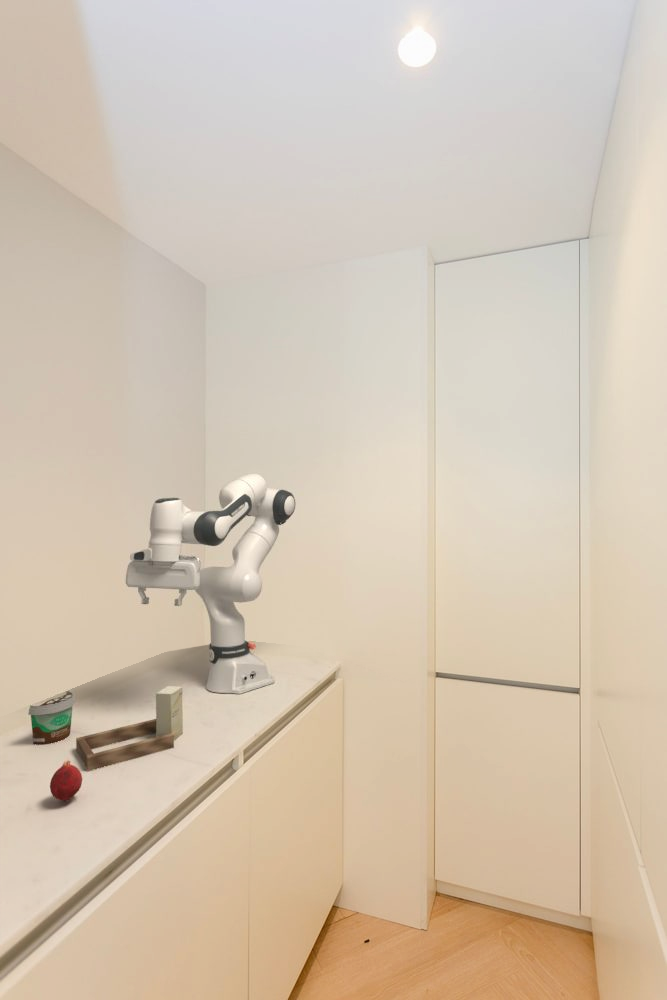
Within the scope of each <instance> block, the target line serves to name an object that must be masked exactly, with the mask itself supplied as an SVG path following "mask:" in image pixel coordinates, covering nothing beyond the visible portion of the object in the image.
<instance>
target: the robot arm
mask: <svg viewBox="0 0 667 1000" xmlns="http://www.w3.org/2000/svg"><path fill="white" fill-rule="evenodd" d="M218 500H219V504H220V507H221V508H222V509H221V510H208V511H206V510H205V511H201V510H197V511H194V510H192V509H190V508H189V507H187V506H186V505H185V504H184V503H183V500H182V499H181V498H179V497H163V498H158V499H156V500H155V501H154V502H153V505H152V508H151V512H150V520H149V531H150V532H149V533H150V538H149V541H148V548H145V549H141V550H137V551H134V552H131V553H130V555H129V557H130V558H129V559H130V560H131V561H130V562H129V563H128V565H127V568H126V573H125V584H126V587H127V588H138V589H137V592H138V594H139V596H140V599H141V601H140V602H141V605H149V603H150V597H148V596H147V594H146V593H145V592H146V591H147V589H167V590H178V593H179V594H180V595H179V597H178V598H175V599H174V603H173V605H174V606H175V607H181V606H182V605H183V604H182V603H183V599H184V597H185V596H186V595H187V590H188V591H195V592H196V594H197V595H198V596H199V597H200V598H201V599H202V602H203V603H204V606H205V608H206V611H207V615H208V617H209V625H210V629H209V630H210V643H209V645H208V646H209V647H208V648H209V650H208V656H209V657H208V658H209V670H208V671H209V672H208V677H207V682H206V685H205V688H206V690H208V691H209V692H211V693H212V692H213V693H217V694H218V693H219V694H220V693H221V694H223V693H224V694H236V695H237V694H243V693H246V692H249V691H253V690H257V689H259V688H262V687H265V686H268V685H271V684H274V683H275V678H274V676H273V675H272V674H270V673H269V672H268V668H267V664H266V663H265V662H264V660H262V659H261V658H260V657H258V656H257V655H255V654H254V653H253V652H251V651H252V650H255V648H256V644H255V643H253V642H248V641H246V639H245V637H246V634H245V633H246V632H245V631H246V630H245V629H246V628H245V627H246V624H245V622H246V621H245V618H244V615H242V613H240V612H239V610H238V609H237V607H236V605H235V603H249V602H252V601H255V600H257V598H259V596H260V594H261V592H262V589H263V580H262V578H261V576H260V574H259V572H260V568H261V566H262V565H263V563H264V561H265V559H266V558H267V556H268V554H269V553H270V552H271V550H272V548H273V547H274V545H275V543H276V541H277V539H278V536H279V533H280V527H279V526H282V525H283V524H286V522H287V520H289V519H290V518H291V516H292V515H293V513H294V512H295V509H296V499H295V496H294V494H293V493H292V492H290V491H288V490H286V489H285V490H284V489H278V488H273V487H268V485H267V481H266V480H265V478H264V477H263V476H261V475H260V474H259V473H249V474H244V475H242V476H239V477H236V478H235V479H233V480H231V481H229V482H228V483H226V484H225V485H224V486H223V487H222V488H221V489H220V491H219V495H218ZM246 517H254V521H253V523H252V524H251V525H250V526H249V528H247V529H246V531H245V532H244V533H243V535H242V536H241V537H240V539H239V540H238V541H237V543H236V544H235V545H234V547H233V548H232V552H231V553H232V554H231V555H232V558H233V561H234V563H233V564H231V566H228V567H225V566H209V567H204V568H201V561H200V559H199V558H197V557H196V556H194V555H191V556H189V555H188V556H187V555H182V544H187V545H188V544H190V545H203V546H208V547H209V546H210V547H217V546H219V545H220V544H222V543H223V542H224V541H225V540H226V538H227V537H228V535H229V533H230V532H231V530H232V529H233V528H235V526H237V524H240V522H241V521H242V520H243V519H244V518H246Z"/></svg>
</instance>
